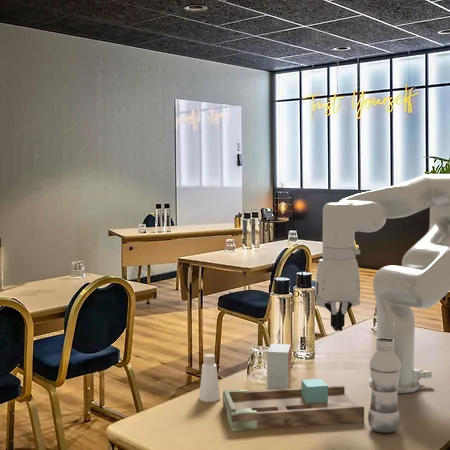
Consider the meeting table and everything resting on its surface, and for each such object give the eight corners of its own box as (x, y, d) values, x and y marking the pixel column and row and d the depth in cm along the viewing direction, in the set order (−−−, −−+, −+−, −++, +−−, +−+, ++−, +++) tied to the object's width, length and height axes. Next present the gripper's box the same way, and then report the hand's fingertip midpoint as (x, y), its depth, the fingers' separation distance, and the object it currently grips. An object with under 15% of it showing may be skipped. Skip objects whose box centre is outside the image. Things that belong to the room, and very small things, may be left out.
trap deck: (343, 399, 150) (343, 381, 150) (364, 421, 136) (364, 402, 136) (223, 406, 146) (222, 388, 145) (232, 431, 132) (232, 410, 132)
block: (321, 394, 148) (321, 378, 147) (327, 402, 143) (327, 385, 142) (301, 395, 147) (301, 379, 147) (307, 403, 142) (307, 387, 142)
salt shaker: (204, 403, 148) (204, 359, 147) (195, 396, 152) (194, 353, 151) (224, 399, 150) (224, 356, 149) (214, 392, 155) (214, 350, 154)
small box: (288, 393, 154) (288, 352, 154) (266, 391, 156) (266, 351, 155) (291, 382, 162) (291, 344, 161) (270, 381, 163) (270, 343, 163)
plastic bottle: (363, 425, 135) (364, 336, 133) (393, 423, 135) (395, 335, 133) (373, 437, 128) (374, 344, 126) (404, 436, 129) (406, 343, 127)
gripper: (363, 251, 150) (362, 324, 151) (304, 252, 148) (303, 326, 150) (374, 255, 142) (372, 332, 144) (311, 256, 141) (310, 334, 142)
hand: (337, 329), depth 147 cm, fingers closed
